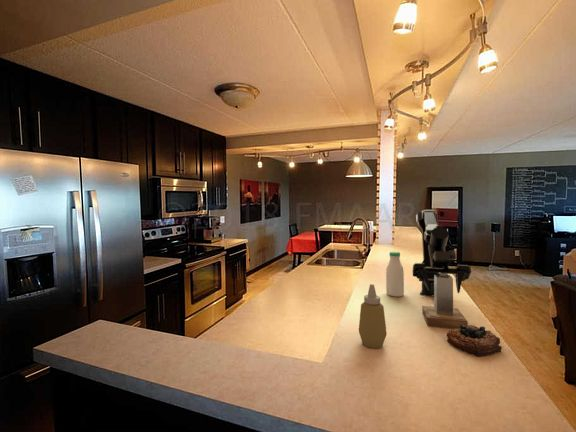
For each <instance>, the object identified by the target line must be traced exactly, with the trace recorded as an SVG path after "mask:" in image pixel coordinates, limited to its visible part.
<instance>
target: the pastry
mask: <svg viewBox="0 0 576 432" xmlns="http://www.w3.org/2000/svg"><path fill="white" fill-rule="evenodd" d="M446 338H447V339H446V341H447V343H448V344H449V345H450V346H452V347H454V348H456V349H458V350H460V351H462V352H464V353H467V354H469V355H472V356H475V357H477V358H480V357H481V358H482V357H487V356H490V355H494V354H497V353H499V352H501V353H502V348H503V347H502V346H501V345H500V344H501V339H500V337H498V336H497V335H496V334H494V333H493V332H492V331H491V330H488V329H487V330H486V327H484V326H480V327H478V326H476V325H473V324H468V326H464V325H460V328H459V329H449V330H448V331H447V333H446Z"/></svg>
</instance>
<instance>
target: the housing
mask: <svg viewBox="0 0 576 432" xmlns="http://www.w3.org/2000/svg"><path fill="white" fill-rule="evenodd" d="M433 297H434V298H433V300H434V301H433V302H434V304H433V307H434V309H435V311H436V313H437V314H441V315H451V316H453V308H454V278H453V276H451V274H448V273H446V272H439V274H434V296H433Z"/></svg>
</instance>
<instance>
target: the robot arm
mask: <svg viewBox="0 0 576 432" xmlns="http://www.w3.org/2000/svg"><path fill="white" fill-rule="evenodd" d="M415 218H416V219H415V220H416V223H417V227H418V229H419V230H420V232H421V241H422V244H421V245H422V259H423V260H422V262H420V263H419V262H415V263H413V265H412V271H411V272H412V277H416V279H417V280H418V282H421V290H420V293H419V294H420V295H422V296H423V295H424V296H431V297H434V274H439V272H446V273H448V275H454V276H455V278H454V279H455V286H456V292H457V294H460V292H461V287H462V282H465V281H466V280H469V278H470V276H471V273H472V267H471V266H470V265H468V264H456V267H455V268H453V267H451V268H450V265H451V263H450V262H451V261H455V260H456V259H457V254H456V250H448V251H446V247H447V244H448V243H447V242H448V239H449V238H450V236H449V235H450V232H449V231H448V230H447V229H446V228H444V227H442V225H438V222H437V220H438V219H437V213H436V212H435V210H434V209H424V210H421V211H420V212H417V213H416V215H415Z"/></svg>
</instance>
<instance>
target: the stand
mask: <svg viewBox="0 0 576 432" xmlns="http://www.w3.org/2000/svg"><path fill="white" fill-rule="evenodd" d="M421 307H422V310H421V311H422V315H423V318H424V321H425V323H426V326H427V327H432V328H443V329H449V330H451V329H452V330H453V329H459V328H460V325H464V326H469V323H468V322H469V321H468V320H467V319H466V317H465V316H464V315H463V313H462V312H461V310H459V308H454V307H453V316H451V315H441V314H437V313H436V311H435V309H434V306H431V305H429V306H428V305H422V306H421Z"/></svg>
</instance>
